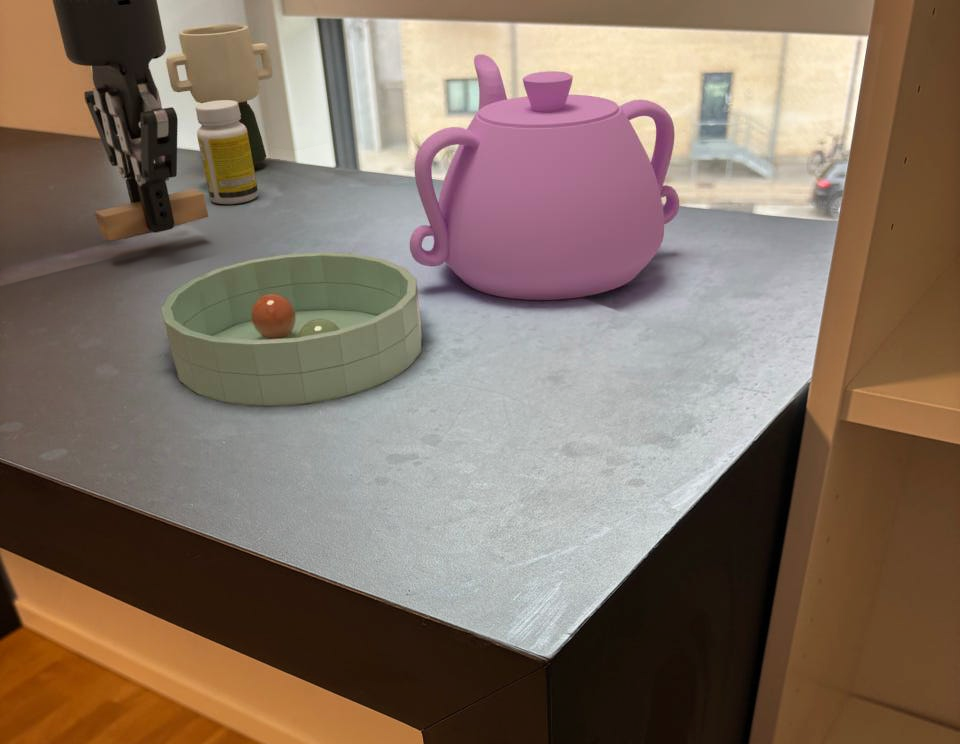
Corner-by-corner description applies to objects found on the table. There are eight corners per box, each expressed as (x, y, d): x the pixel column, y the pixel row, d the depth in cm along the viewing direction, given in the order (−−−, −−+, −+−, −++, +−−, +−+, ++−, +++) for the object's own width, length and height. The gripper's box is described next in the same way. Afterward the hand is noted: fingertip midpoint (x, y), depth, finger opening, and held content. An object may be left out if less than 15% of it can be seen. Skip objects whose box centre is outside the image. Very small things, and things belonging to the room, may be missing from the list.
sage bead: (316, 379, 64) (309, 333, 62) (292, 365, 66) (285, 320, 64) (356, 366, 65) (350, 320, 63) (332, 352, 67) (326, 308, 65)
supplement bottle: (268, 195, 101) (252, 100, 95) (235, 207, 98) (217, 111, 92) (234, 189, 103) (216, 97, 98) (200, 202, 100) (180, 107, 95)
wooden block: (110, 241, 84) (103, 216, 83) (101, 236, 85) (94, 211, 84) (208, 217, 88) (203, 193, 87) (198, 212, 89) (193, 188, 88)
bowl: (248, 440, 59) (233, 367, 56) (140, 358, 69) (122, 293, 67) (470, 361, 66) (466, 293, 64) (342, 298, 77) (334, 237, 74)
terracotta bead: (268, 350, 68) (260, 306, 66) (247, 338, 70) (239, 294, 68) (307, 338, 69) (300, 294, 67) (286, 326, 71) (278, 283, 69)
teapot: (596, 210, 91) (599, 33, 83) (732, 283, 75) (755, 72, 67) (363, 252, 85) (341, 65, 77) (458, 340, 69) (443, 117, 61)
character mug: (274, 153, 114) (253, 19, 106) (297, 165, 110) (276, 26, 101) (180, 169, 111) (150, 32, 103) (200, 183, 106) (170, 39, 98)
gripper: (22, -14, 79) (83, 219, 89) (87, -1, 70) (147, 255, 81) (114, -24, 82) (163, 202, 93) (188, -12, 73) (232, 235, 84)
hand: (155, 225), depth 87 cm, fingers closed on wooden block, 2 cm apart
